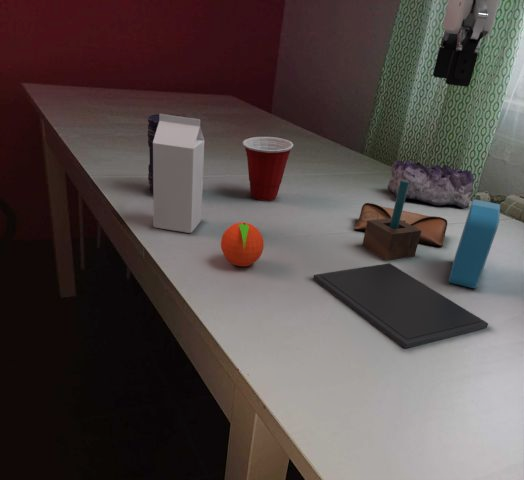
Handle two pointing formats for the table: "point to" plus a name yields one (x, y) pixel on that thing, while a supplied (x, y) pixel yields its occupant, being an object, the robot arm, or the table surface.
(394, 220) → the stylus
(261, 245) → the clementine
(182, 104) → the table surface
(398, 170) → the geode
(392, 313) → the tablet
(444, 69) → the robot arm
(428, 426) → the table surface
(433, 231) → the sunglasses case
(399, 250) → the pen stand
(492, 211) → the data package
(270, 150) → the plastic cup
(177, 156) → the milk carton
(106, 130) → the table surface
